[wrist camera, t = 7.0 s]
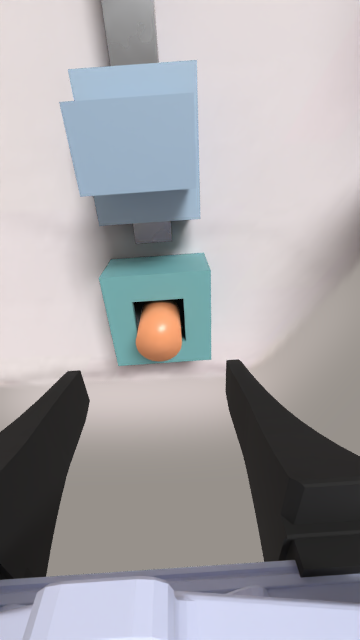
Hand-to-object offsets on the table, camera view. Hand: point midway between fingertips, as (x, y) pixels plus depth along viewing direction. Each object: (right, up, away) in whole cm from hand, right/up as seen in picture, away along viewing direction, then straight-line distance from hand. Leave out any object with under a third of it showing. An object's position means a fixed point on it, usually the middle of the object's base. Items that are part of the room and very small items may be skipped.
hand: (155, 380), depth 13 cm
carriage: (-1, +14, +4) cm, 14 cm away
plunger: (0, +4, +7) cm, 7 cm away
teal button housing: (0, +5, +9) cm, 10 cm away
